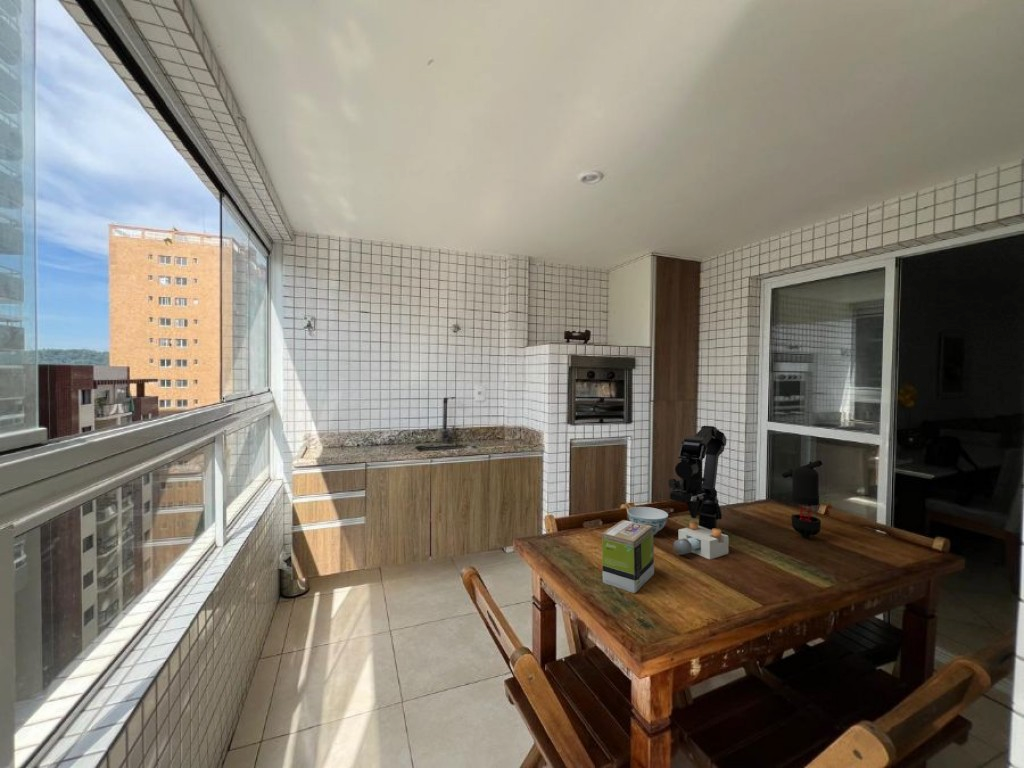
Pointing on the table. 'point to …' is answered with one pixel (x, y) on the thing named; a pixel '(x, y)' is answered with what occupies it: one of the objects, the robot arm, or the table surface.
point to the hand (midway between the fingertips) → (693, 518)
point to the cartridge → (686, 545)
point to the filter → (805, 497)
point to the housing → (706, 542)
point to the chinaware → (648, 517)
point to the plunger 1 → (693, 526)
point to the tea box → (627, 555)
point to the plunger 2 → (716, 533)
